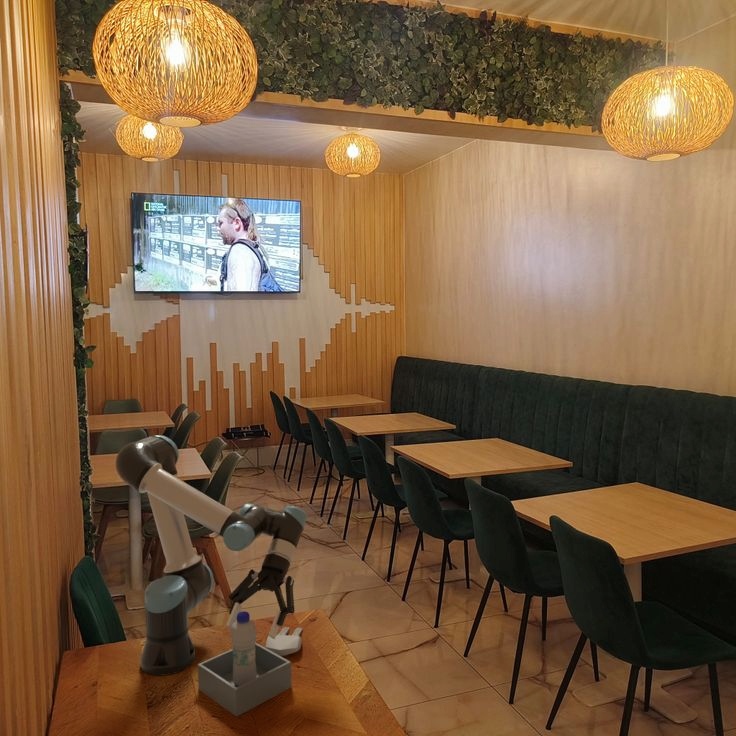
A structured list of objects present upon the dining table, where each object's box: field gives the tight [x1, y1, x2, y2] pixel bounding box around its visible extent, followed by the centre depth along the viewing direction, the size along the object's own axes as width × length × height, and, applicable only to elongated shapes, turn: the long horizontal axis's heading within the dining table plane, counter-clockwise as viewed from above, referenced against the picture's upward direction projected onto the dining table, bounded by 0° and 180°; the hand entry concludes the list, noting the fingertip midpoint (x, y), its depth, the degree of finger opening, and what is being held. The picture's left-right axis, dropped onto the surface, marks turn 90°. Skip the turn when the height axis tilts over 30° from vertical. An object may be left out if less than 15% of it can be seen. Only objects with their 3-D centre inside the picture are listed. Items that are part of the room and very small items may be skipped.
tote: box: [197, 641, 292, 717], centre depth 171 cm, size 18×18×7 cm
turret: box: [264, 626, 304, 657], centre depth 194 cm, size 10×20×5 cm, turn 175°
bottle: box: [230, 610, 257, 687], centre depth 170 cm, size 7×7×20 cm
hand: (250, 632), depth 171 cm, fingers open, 13 cm apart
